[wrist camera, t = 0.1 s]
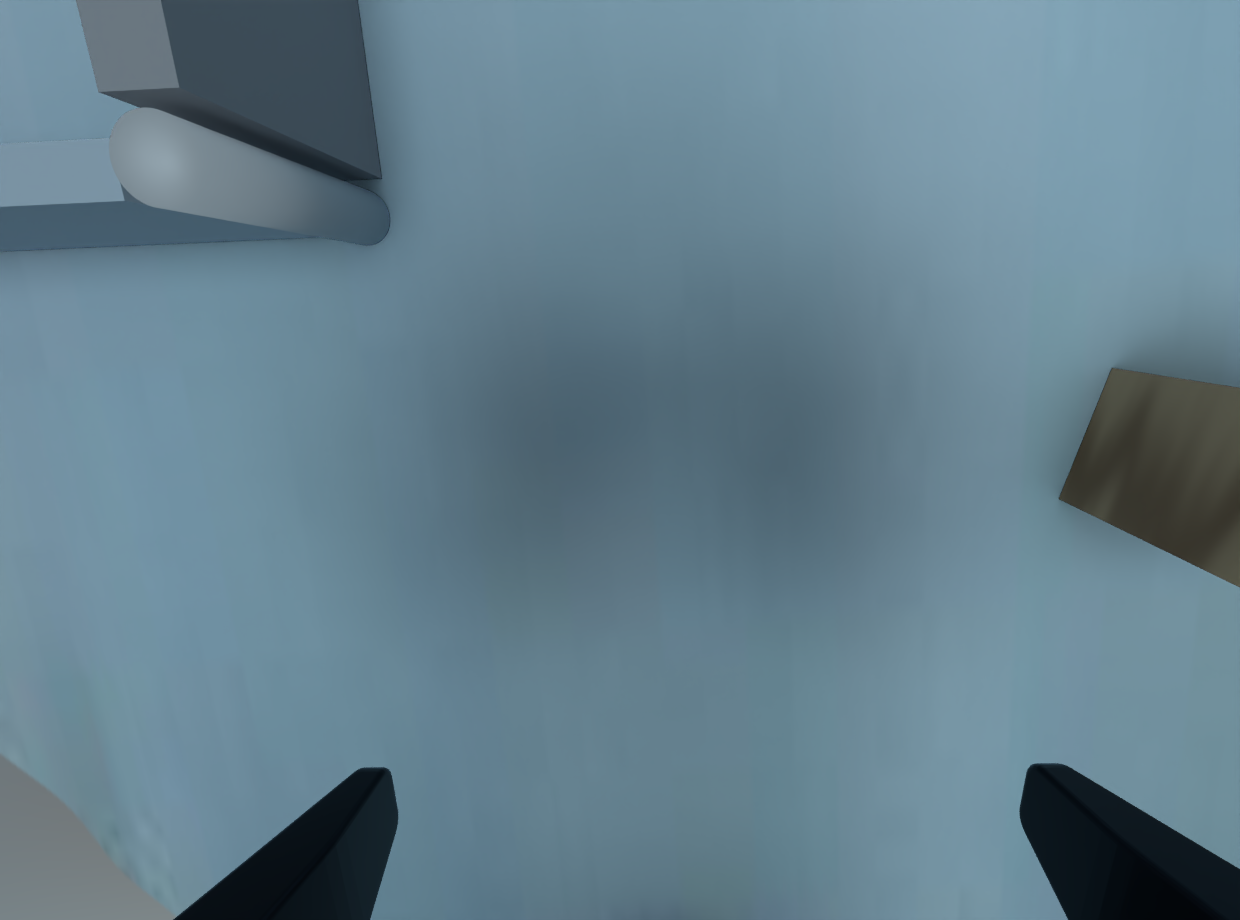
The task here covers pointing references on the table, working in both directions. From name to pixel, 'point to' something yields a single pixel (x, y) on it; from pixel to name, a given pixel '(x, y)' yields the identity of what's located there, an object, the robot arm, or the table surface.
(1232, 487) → the block
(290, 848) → the robot arm
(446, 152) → the table surface
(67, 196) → the door
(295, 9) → the wall
